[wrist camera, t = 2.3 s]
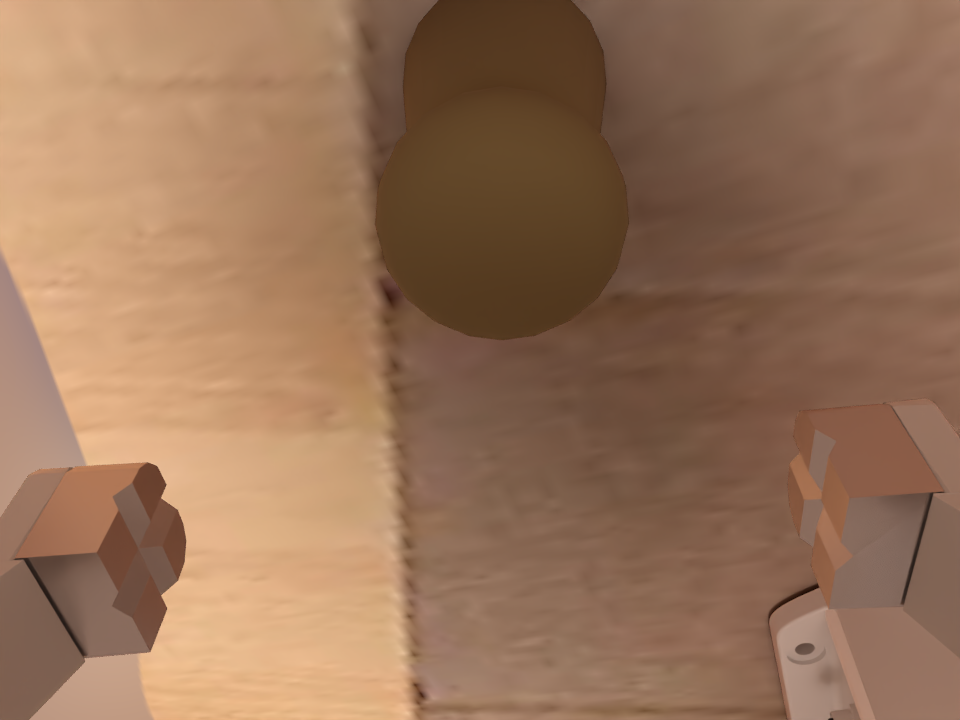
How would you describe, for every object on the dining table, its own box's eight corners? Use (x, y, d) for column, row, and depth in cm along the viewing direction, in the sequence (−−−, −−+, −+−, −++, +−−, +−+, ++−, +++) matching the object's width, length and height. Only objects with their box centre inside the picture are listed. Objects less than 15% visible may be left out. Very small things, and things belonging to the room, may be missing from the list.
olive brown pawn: (600, 180, 27) (646, 385, 18) (410, 181, 27) (359, 385, 18) (613, -28, 23) (677, 96, 14) (395, -24, 24) (323, 101, 15)
